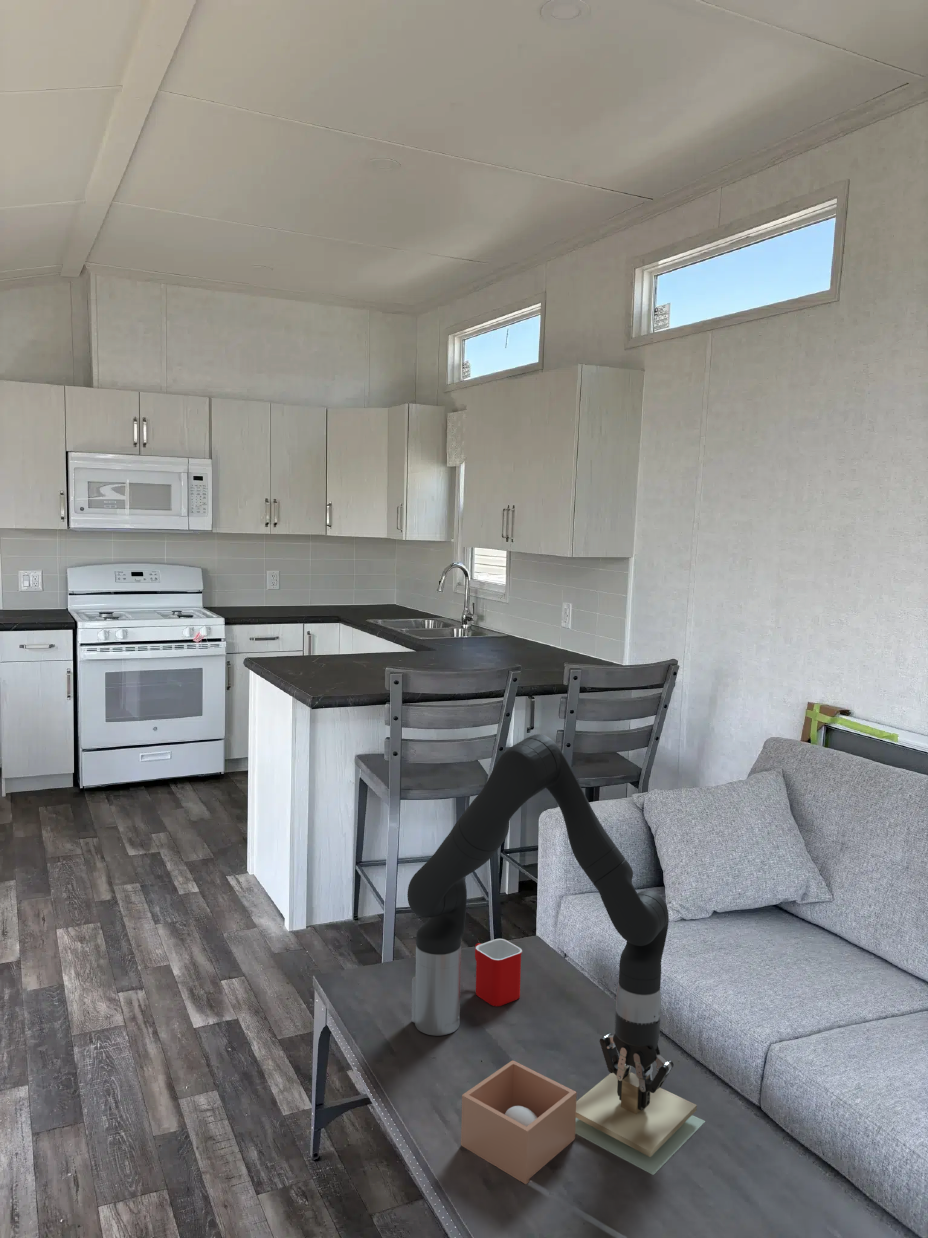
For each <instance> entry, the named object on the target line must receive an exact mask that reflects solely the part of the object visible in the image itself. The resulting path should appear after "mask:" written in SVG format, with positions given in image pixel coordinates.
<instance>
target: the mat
mask: <svg viewBox="0 0 928 1238" xmlns="http://www.w3.org/2000/svg"><path fill="white" fill-rule="evenodd" d="M705 1122H706V1120H704V1119H702V1118H700V1117H697V1116H695V1115H694V1114H693V1115H692V1116H691V1117H690V1118H689V1119H688V1120H687V1121H686V1122H685V1123H684V1124H683V1125H682V1126H681V1127H680V1128H679V1129H678V1130H677V1131H676V1132H675V1133H674V1134H673V1135H672V1136H671V1137H670V1138H669V1139H668V1140H667V1141H666V1142H665V1143H664V1144H663V1145H662V1146H661V1147H660V1148H659V1149H658V1150H657V1151H656V1152H655V1153H654V1154H653V1155H652V1156H651V1157H649V1156H647V1155H645V1154H643V1153H641V1152H640V1151H638V1150H636V1149H634V1148H632V1147H630V1146H628V1145H626V1144H625V1143H623V1142H621V1141H619V1140H617V1139H615V1138H613V1137H611V1136H610V1135H608V1134H606V1133H604V1132H602V1131H600V1130H598V1129H596V1128H594V1127H593V1126H591V1125H589V1124H587V1123H585V1122H583V1121H581V1120H579V1119H578V1118H576V1125H575V1135H577V1136H579V1137H581V1138H582V1139H584V1140H586V1141H588V1142H590V1143H592V1144H594V1145H595V1146H598V1147H600V1148H601V1149H604V1150H605V1151H607V1152H608V1153H611V1154H613V1155H615V1156H616V1157H618V1158H620V1159H622V1160H624V1161H626V1162H627V1163H629V1164H632V1165H633V1166H635V1167H636V1168H639V1169H641V1170H643V1171H645V1172H646V1173H648V1174H651V1175H652V1176H654V1175H655V1174H656V1173H657V1172H658V1171H659V1170H660V1169H661V1168H662V1167H663V1166H664V1165H665V1164H666V1163H667V1162H668V1161H669V1160H670V1159H671V1157H673V1156H674V1154H676V1153H677V1152H678V1150H679V1149H680V1148H681V1147H682V1146H683V1145H684V1144H685V1143H686V1142H687V1141H688V1140H689V1139H690V1138H691V1137H692V1136H693V1135H694V1134H695V1133H696V1132H698V1130H699V1129H700V1128H701V1126H703V1125H704V1124H705Z"/></svg>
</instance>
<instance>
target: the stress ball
mask: <svg viewBox="0 0 928 1238" xmlns="http://www.w3.org/2000/svg"><path fill="white" fill-rule="evenodd" d="M505 1115H506V1116H508V1117H510V1118H512V1119H514V1120H515V1121H517V1122H519V1123H521V1124H523V1125H524V1126H526V1127H527V1126H528V1125H529V1124H531V1123H532V1122H533V1121H534V1120H536V1119H537V1116H536V1115H535V1114H534V1113H533V1112H532V1111H531V1110H529V1109H528V1108H526V1107H523V1106H513V1107H511V1108H509V1109H508V1110H507V1111H506V1113H505Z"/></svg>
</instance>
